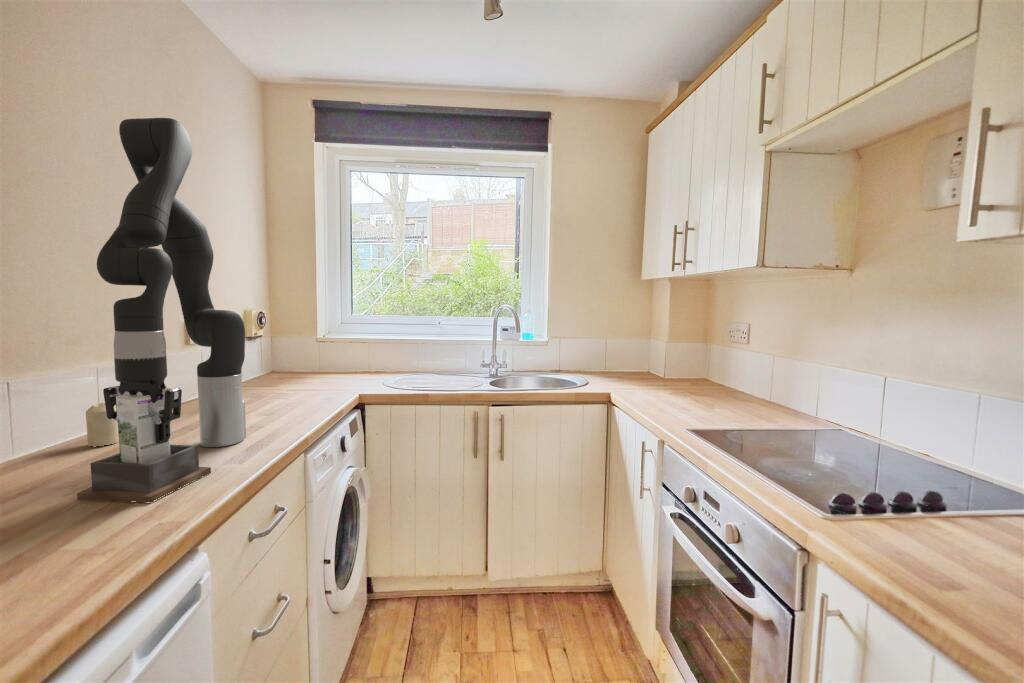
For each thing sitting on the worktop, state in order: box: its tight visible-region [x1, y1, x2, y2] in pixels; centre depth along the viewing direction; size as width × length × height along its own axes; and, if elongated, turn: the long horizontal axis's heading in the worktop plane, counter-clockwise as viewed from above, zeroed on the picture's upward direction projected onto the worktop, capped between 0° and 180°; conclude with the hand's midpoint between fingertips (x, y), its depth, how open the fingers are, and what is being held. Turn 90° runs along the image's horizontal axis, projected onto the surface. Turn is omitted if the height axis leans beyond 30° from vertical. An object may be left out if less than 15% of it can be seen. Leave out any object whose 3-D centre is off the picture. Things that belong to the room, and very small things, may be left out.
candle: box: [85, 402, 119, 447], centre depth 108 cm, size 6×6×10 cm
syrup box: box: [115, 395, 171, 464], centre depth 84 cm, size 6×6×14 cm
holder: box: [76, 444, 212, 503], centre depth 85 cm, size 14×14×6 cm
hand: (145, 441), depth 84 cm, fingers closed on syrup box, 6 cm apart
